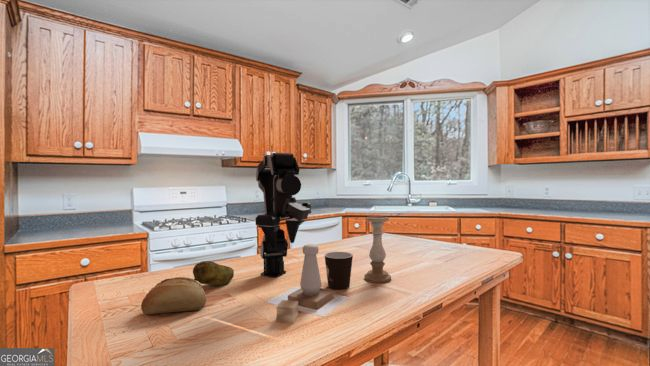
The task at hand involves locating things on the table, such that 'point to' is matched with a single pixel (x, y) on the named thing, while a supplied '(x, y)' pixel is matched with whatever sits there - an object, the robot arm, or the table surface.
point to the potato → (212, 273)
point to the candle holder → (377, 252)
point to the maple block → (287, 311)
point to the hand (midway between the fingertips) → (283, 245)
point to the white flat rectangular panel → (321, 311)
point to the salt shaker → (310, 271)
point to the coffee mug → (338, 269)
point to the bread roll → (174, 296)
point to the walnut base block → (312, 298)
